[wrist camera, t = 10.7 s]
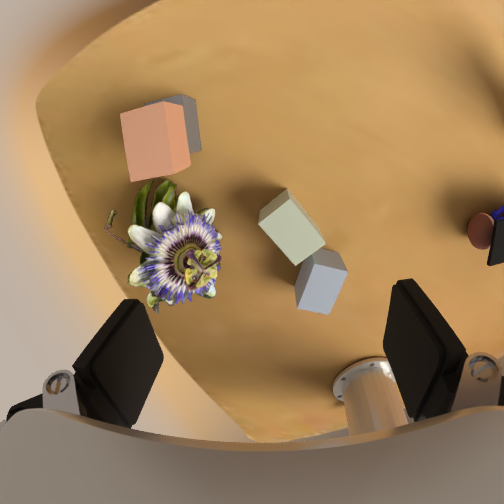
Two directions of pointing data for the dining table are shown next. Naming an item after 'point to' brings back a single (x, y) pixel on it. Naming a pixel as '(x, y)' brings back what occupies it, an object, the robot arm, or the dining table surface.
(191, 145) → the charcoal brick
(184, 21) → the dining table surface
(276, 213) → the sage brick
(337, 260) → the slate-blue brick
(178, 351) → the dining table surface
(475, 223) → the figurine character
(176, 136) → the terracotta brick
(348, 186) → the dining table surface
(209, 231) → the passion flower
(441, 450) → the robot arm
